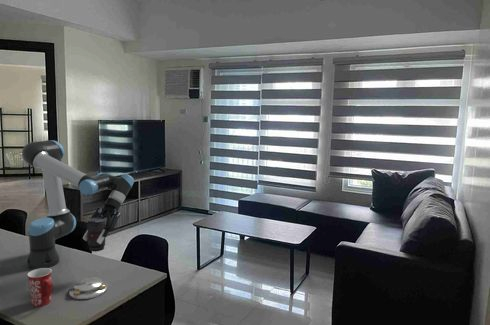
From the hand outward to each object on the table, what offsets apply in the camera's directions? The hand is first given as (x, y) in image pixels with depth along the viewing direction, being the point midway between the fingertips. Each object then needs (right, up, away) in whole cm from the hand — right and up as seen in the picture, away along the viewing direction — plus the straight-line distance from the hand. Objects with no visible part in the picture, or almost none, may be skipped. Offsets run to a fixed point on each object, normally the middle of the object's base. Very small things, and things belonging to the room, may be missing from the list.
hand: (91, 241), depth 172 cm
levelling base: (+2, -21, -8) cm, 22 cm away
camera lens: (+1, -5, +4) cm, 6 cm away
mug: (-12, -22, -20) cm, 32 cm away
